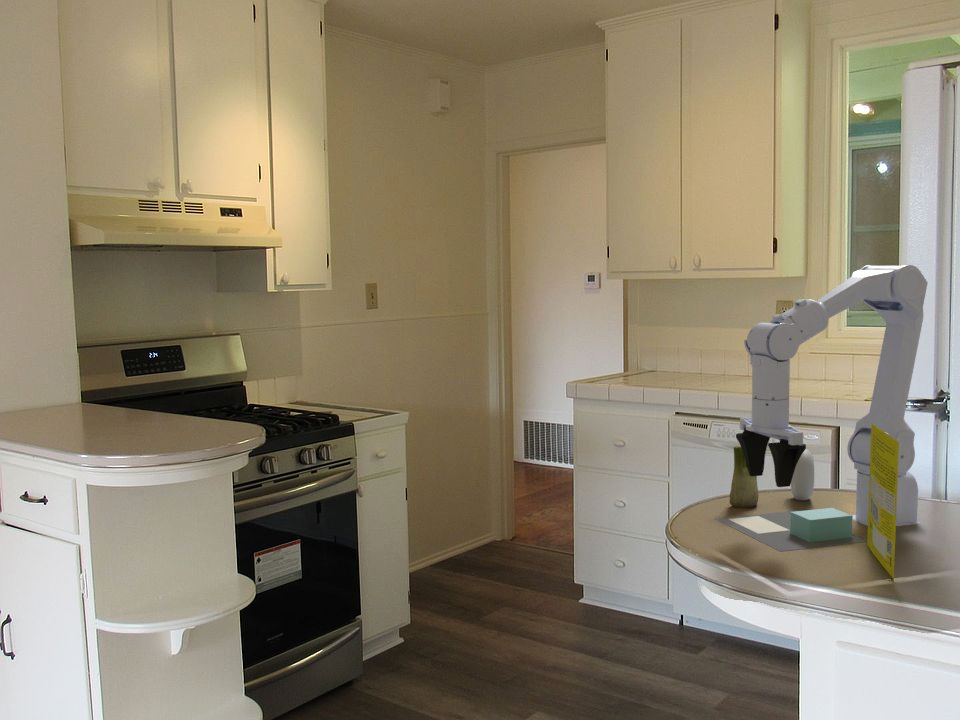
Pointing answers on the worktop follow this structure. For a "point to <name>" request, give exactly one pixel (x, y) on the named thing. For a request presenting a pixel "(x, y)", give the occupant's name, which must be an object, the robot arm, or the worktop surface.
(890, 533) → the food package
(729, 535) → the worktop surface
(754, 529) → the mat
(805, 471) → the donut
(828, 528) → the card box
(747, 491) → the fennel bulb
